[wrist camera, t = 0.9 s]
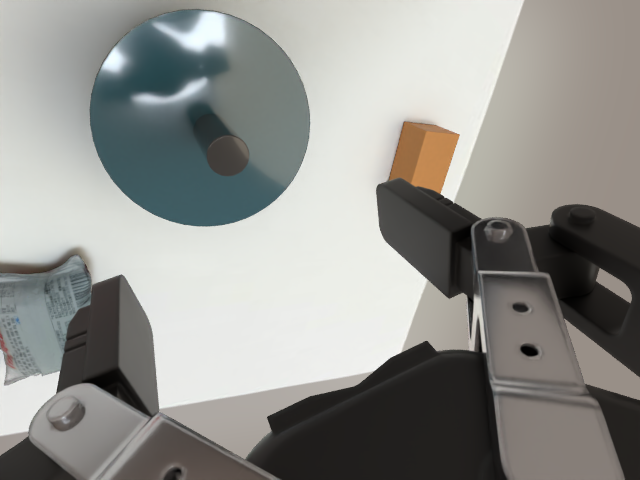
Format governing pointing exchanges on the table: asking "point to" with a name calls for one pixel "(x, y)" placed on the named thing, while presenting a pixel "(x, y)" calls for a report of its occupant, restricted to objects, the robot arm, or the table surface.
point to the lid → (199, 117)
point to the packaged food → (40, 317)
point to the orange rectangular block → (424, 155)
